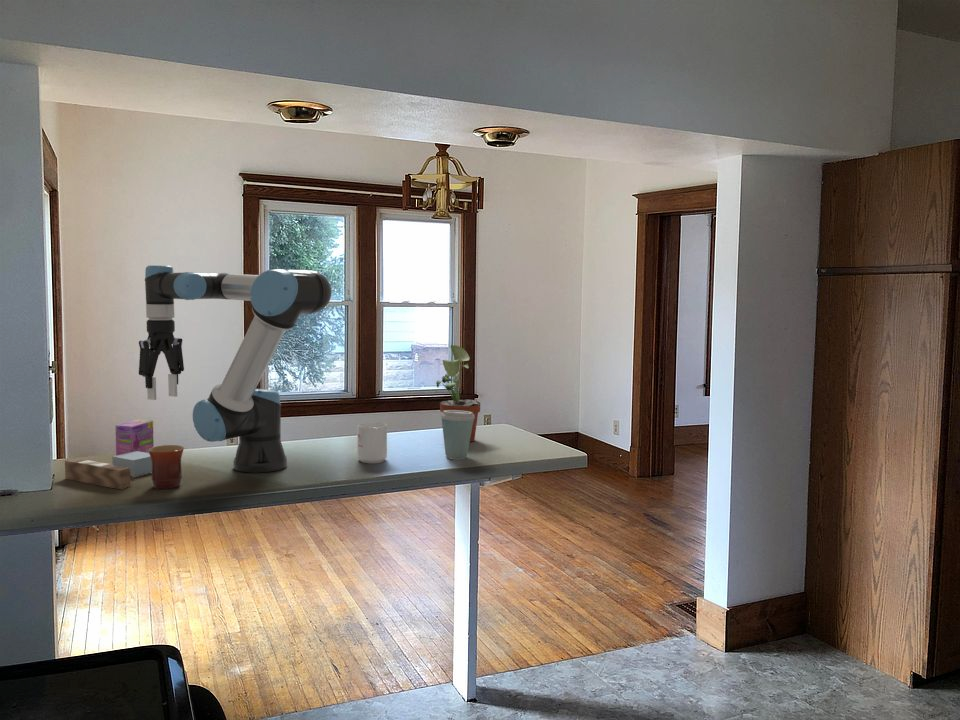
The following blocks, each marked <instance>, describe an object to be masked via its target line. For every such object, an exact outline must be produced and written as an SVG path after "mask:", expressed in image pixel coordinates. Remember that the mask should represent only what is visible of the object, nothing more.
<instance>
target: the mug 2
mask: <svg viewBox="0 0 960 720" xmlns="http://www.w3.org/2000/svg"><path fill="white" fill-rule="evenodd" d="M387 432H388V425H387V423H385V422H384V423H383V422H375V421H374V422H373V421H372V422H371V421H370V422H369V421H368V422H363V423H359V424H357V459H358V460H359V461H360V462H361V463H364V464H380V463H383V462H385V460H386V459H387V457H388V455H387V454H388V452H387V451H388V449H387V448H388V433H387Z"/></svg>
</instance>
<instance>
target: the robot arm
mask: <svg viewBox="0 0 960 720" xmlns="http://www.w3.org/2000/svg"><path fill="white" fill-rule="evenodd" d="M144 271H145V272H144V273H145V274H144V282H145V284H144V287H145V312H146V314H145V315H146V318H147V320H146V332H147V334H148V335H147V339H145V340H139V341H138V345H139V361H138V362H139V364H138V375H139V376H142V377H143V378H144V379H145V382H144V383H145V388H146V389H147V391H146V392H147V400H150V401H151V400H152V401H155V400H157V377H156V376H154V374H155V371H156V367H157V364H158V363H157V362H158V358H159V356H160V355H161V353H162V354H164V358H165V360H166V364H167V366H168V369H169V372H170V373H168V374H167V375H168V376H167V383H168V397H178V385H179V375H181V374H182V372H184V371H185V365H184V356H183V347H182V345H183V339H182V338H180V337H175V335H174V332H175V323H176V322H175V320H174V318H175V301H174V300H185V301H193V300H207V299H208V300H209V299H210V300H233V301H236V300H237V301H245V302H246V301H249V302H251V305H252V307H251V311H252V313H253V319H252V321H251V322H250V324H249V327H248V329H247V331H246V333H245V336H244V338H243V339H242V341H241V343H240V346H239V347H238V350H237V352H236V353H235V356H234V358H233V360H232V362H231V364H230V365H229V368H228V371H227V372H226V374H225V376H224V379H223V380H222V383H219V384H216V385H215V386H214V387H213V388H212V390H211V392H210V394H209V396H208V397H207V399H201V400H200V401H197V403H196V404H194V406H193V408H192V422H193V426H194V428H195V430H196V432H197V434H198V435H199V436H200V438H202V439H203V440H204V441H207V442H209V443H214V442H222V441H223V442H224V441H226V440H227V441H228V440H231V439H235V438H238V437H239V442H238V446H237V449H236V453H235V457H234V459H233V469H234V470H235V471H237V472H241V473H242V472H243V473H251V474H252V473H259V474H260V473H269V472H276V471H280V470H283V469H285V468H287V466H288V458H287V455H286V454H285V450H284V446H283V444H282V437H281V435H282V434H281V432H282V431H281V430H282V428H281V422H282V421H281V417H282V416H281V413H282V410H281V408H282V407H281V406H282V403H281V395H280V393H279V392H278V391H276V390H273V389H265V388H257V387H258V385H259V383H260V382H261V379H262V377H263V376H264V373H265V371H266V369H267V367H268V365H269V363H270V362H271V360H272V358H273V356H274V354H275V352H276V350H277V348H278V345H279V344H280V342H281V340H282V338H283V336H284V333H285V332H286V331H288V330H291V329H294V327H295V326H296V324H297V321H298V319H299V317H300V316H301V315H310V314H317V313H319V312H321V311H323V310H324V309H325V308H326V307H327V306H328V304H329V303H330V302H331V301H330V300H331V298H332V286H331V284H330V281H329V280H328V279H327V277H326V276H325V275H323V274H322V273H320V272H319V271H316V270H311V269H286V268H274V269H268V270H265V271H263V272H261V273H259V274H243V273H241V274H240V273H228V272H221V273H217V272H216V273H215V272H213V273H212V272H211V273H210V272H209V273H208V272H192V271H191V272H189V271H184V272H174V268H173V266H171V265H154V264H153V265H147V266H145V270H144Z"/></svg>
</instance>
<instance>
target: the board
mask: <svg viewBox="0 0 960 720" xmlns="http://www.w3.org/2000/svg"><path fill="white" fill-rule="evenodd" d="M64 475H65V476H64V477H65V480H71V481H76V482H81V483H85V484H91V485H97V486H102V487H107V488H113V489H116V490H117V489H118V490H123V488H124V489H127V487H128V488H130V486H131V477H130V468H126V467H121V466H115V465H113V464H111V463H108V462H107V463H106V462H100V461H96V460H89V459H88V460H86V459H80V458H72V459H71V458H70V459H67V460H64Z"/></svg>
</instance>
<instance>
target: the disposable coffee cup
mask: <svg viewBox="0 0 960 720" xmlns="http://www.w3.org/2000/svg"><path fill="white" fill-rule="evenodd" d="M441 413H442V412H441ZM440 418H441V425H442V433H443V443H444V451H445V456H446V458H447V459H449V460H455V461H457V460H458V461H459V460H465V459H466V458H467V456H468V454H469V453H468V452H469V447H470V443H471V442H470V437H471V431H472V426H473V420H474V418H475V416H474V414H473V413H472V412H469V411H461V410H444V411H443V413H442V414H440Z"/></svg>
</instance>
